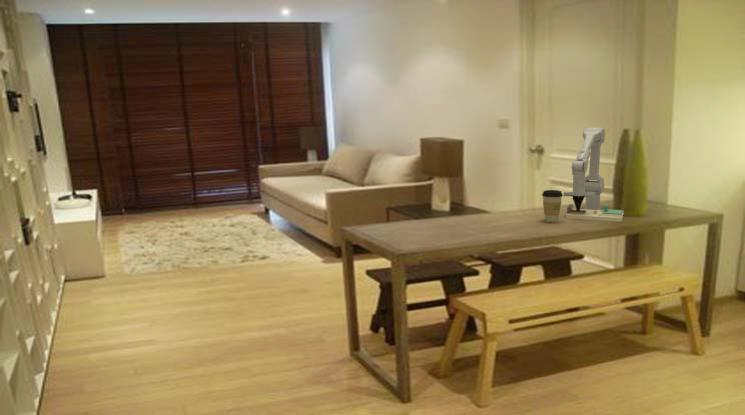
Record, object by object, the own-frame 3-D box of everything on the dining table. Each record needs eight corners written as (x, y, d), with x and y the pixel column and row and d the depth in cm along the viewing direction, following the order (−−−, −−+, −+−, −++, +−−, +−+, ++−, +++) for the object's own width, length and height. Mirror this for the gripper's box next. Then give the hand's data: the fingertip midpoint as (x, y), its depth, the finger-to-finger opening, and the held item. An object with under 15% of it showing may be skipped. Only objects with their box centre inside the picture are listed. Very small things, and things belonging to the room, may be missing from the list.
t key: (569, 209, 319) (569, 204, 319) (586, 210, 316) (586, 205, 315) (567, 213, 311) (567, 207, 311) (584, 214, 308) (585, 208, 307)
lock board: (570, 212, 323) (570, 206, 322) (623, 215, 312) (623, 209, 311) (566, 218, 308) (566, 212, 308) (621, 221, 298) (622, 215, 297)
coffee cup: (564, 223, 299) (565, 192, 296) (544, 223, 299) (544, 193, 296) (558, 218, 308) (559, 189, 306) (539, 219, 309) (539, 190, 306)
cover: (603, 211, 311) (603, 203, 311) (622, 212, 308) (622, 204, 307) (601, 215, 303) (602, 206, 303) (621, 216, 300) (621, 207, 299)
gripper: (562, 185, 307) (562, 211, 309) (593, 186, 301) (592, 213, 303) (564, 182, 313) (564, 208, 315) (594, 183, 307) (593, 210, 309)
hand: (578, 210), depth 310 cm, fingers closed
